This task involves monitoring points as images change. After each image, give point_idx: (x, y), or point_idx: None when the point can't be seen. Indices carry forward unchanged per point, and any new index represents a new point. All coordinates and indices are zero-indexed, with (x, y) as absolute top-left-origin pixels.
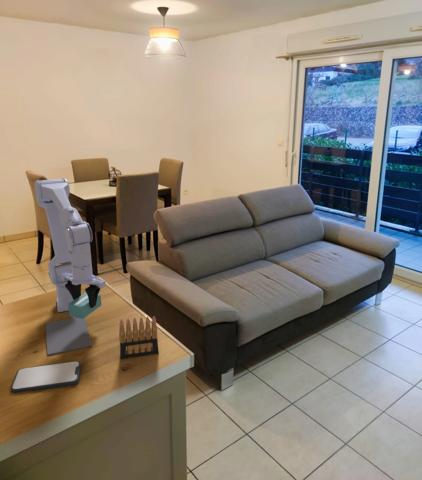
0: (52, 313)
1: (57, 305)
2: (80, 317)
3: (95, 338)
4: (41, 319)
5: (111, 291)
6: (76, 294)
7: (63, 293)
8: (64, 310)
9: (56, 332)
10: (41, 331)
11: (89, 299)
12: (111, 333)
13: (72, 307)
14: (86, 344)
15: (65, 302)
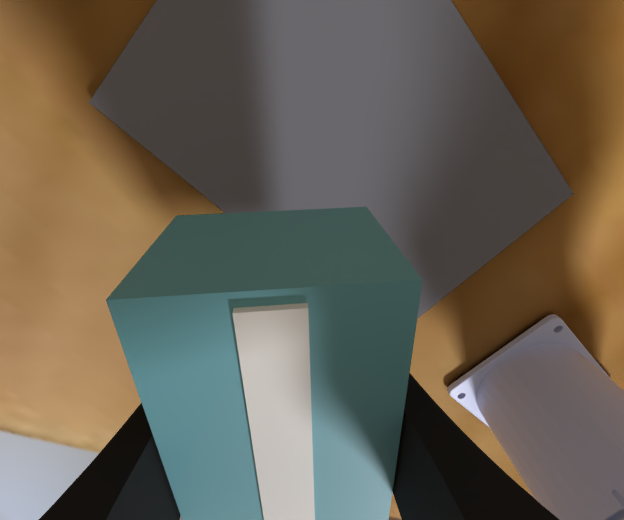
0: (579, 293)
1: (587, 353)
2: (207, 217)
3: (156, 196)
4: (616, 220)
5: (398, 515)
6: (426, 500)
7: (614, 436)
8: (525, 336)
9: (441, 131)
10: (553, 107)
11: (96, 497)
12: (116, 280)
13: (323, 262)
14: (129, 93)
15: (552, 380)
